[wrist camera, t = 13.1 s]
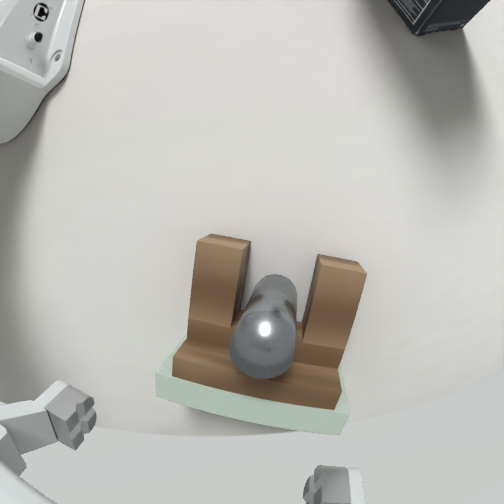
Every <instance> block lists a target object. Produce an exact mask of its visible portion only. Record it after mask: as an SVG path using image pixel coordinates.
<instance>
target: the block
mask: <svg viewBox="0 0 504 504" xmlns="http://www.w3.org/2000/svg"><path fill="white" fill-rule="evenodd" d="M250 243H251V241H247V240H242V239H237V238H231V237H226V236H220V235H215V234H210V235H208V236H206V237H204V238H202V239H200V240H198V241H197V245H196V253H195V262H194V270H193V279H192V288H191V298H190V308H189V319H188V330H187V338H186V340H185V341H184V342H183V344H182V345H181V346H180V348H179V349H178V350H177V352H176V353H175V354H174V355H173V362H172V376H173V377H176V378H180V379H183V380H187V381H190V382H194V383H197V384H201V385H204V386H208V387H212V388H216V389H220V390H224V391H228V392H232V393H237V394H241V395H246V396H250V397H255V398H260V399H265V400H270V401H276V402H281V403H287V404H293V405H299V406H306V407H313V408H321V409H329V410H335V407H336V405H337V403H338V400H339V398H340V396H341V393H342V388H341V383H340V377H339V372H338V367H339V364H340V362H341V359H342V356H343V353H344V350H345V347H346V344H347V341H348V338H349V335H350V331H351V328H352V325H353V322H354V319H355V315H356V312H357V308H358V305H359V301H360V298H361V294H362V291H363V287H364V283H365V279H366V275H367V273H366V272H365V271H364V269H363V268H362V267H361V266H360V265H359V263H358V262H356V261H350V260H345V259H340V258H335V257H330V256H325V255H320V254H318V255H317V260H316V265H315V269H314V274H313V278H312V283H311V287H310V291H309V296H308V300H307V304H306V308H305V312H304V316H303V320H302V322H296V337H295V356H294V360H293V362H292V364H291V366H290V367H289V368H288V370H287V371H285V372H284V373H283V374H281V375H279V376H277V377H274V378H269V379H259V378H254V377H251V376H248V375H246V374H244V373H243V372H241V371H240V370H239V369H238V368H237V367H236V366H235V365H234V363H233V362H232V360H231V358H230V354H229V343H230V340H231V338H232V336H233V334H234V331H235V329H236V327H237V325H238V323H239V321H240V319H241V317H242V314H243V312H244V311H241V310H240V304H241V298H242V292H243V286H244V279H245V273H246V267H247V261H248V255H249V249H250Z"/></svg>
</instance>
